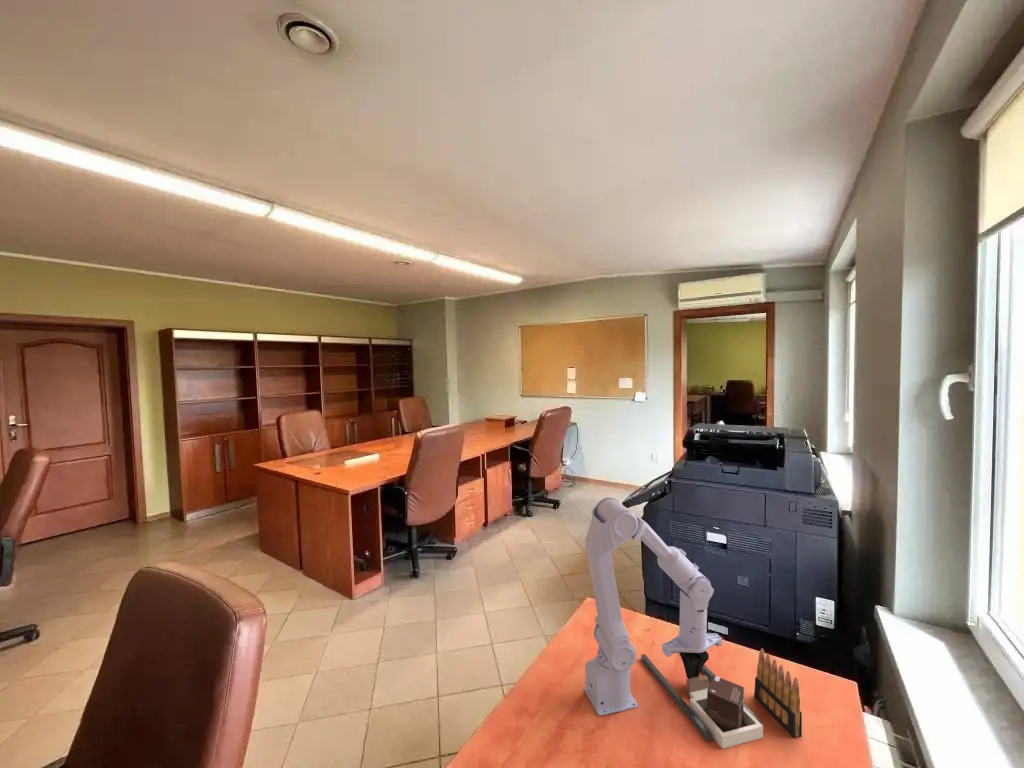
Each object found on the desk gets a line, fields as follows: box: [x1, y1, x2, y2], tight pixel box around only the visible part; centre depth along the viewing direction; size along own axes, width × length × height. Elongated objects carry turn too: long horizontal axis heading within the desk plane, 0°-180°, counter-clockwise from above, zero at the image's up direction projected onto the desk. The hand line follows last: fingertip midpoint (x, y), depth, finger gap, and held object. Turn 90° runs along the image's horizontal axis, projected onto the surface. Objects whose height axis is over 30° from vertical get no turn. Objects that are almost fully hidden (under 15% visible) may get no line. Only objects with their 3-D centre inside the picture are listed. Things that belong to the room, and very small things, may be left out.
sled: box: [685, 674, 764, 749], centre depth 90 cm, size 10×14×3 cm
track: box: [640, 653, 763, 743], centre depth 97 cm, size 13×24×2 cm, turn 15°
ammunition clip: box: [753, 647, 803, 739], centre depth 89 cm, size 11×2×12 cm, turn 11°
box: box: [706, 675, 745, 732], centre depth 88 cm, size 6×6×7 cm
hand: (691, 679), depth 98 cm, fingers closed, pressing on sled
